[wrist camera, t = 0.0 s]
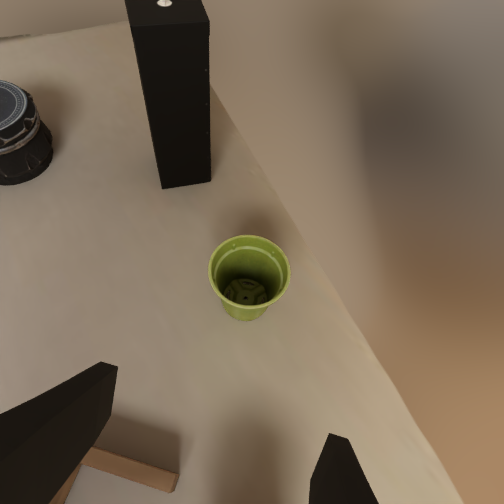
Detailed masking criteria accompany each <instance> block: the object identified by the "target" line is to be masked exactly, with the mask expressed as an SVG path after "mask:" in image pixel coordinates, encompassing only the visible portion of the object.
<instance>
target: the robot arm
mask: <svg viewBox="0 0 504 504" xmlns="http://www.w3.org/2000/svg"><path fill="white" fill-rule="evenodd" d="M117 371H118V367H117V366H114V365H111V364H108V363H104V362H99V363H97V364H95V365H93V366H92V367H90V368H88V369H86V370H84V371H83V372H81V373H79V374H77V375H76V376H74V377H72V378H70V379H69V380H67V381H65V382H63V383H61V384H59V385H58V386H56V387H54V388H52V389H50V390H48V391H46V392H44V393H43V394H41V395H39V396H37V397H35V398H33V399H31V400H29V401H27V402H25V403H23V404H21V405H18V406H16V407H14V408H12V409H10V410H8V411H6V412H4V413H1V414H0V504H49V503H50V502H51V500H52V499H53V498H54V496H55V495H56V494H57V492H58V491H59V490H60V488H61V487H62V486H63V484H64V483H65V482H66V480H67V479H68V478H69V476H70V475H71V474H72V472H73V471H74V470H75V469H76V467H77V466H78V465H79V463H80V462H81V460H82V459H83V458H84V456H85V455H86V454H87V452H88V451H89V450H90V448H91V447H92V446H93V444H94V443H95V441H96V439H97V438H98V436H99V434H100V433H101V431H102V429H103V428H104V426H105V424H106V422H107V421H108V419H109V417H110V415H111V410H112V404H113V397H114V391H115V384H116V377H117ZM309 504H379V503H378V501H377V499H376V497H375V495H374V493H373V491H372V489H371V487H370V485H369V483H368V481H367V479H366V477H365V475H364V472H363V470H362V468H361V466H360V464H359V462H358V459H357V457H356V455H355V453H354V451H353V448H352V446H351V444H350V442H349V440H348V439H347V438H344V437H340V436H337V435H334V434H331V433H329V435H328V437H327V440H326V442H325V445H324V447H323V450H322V452H321V455H320V457H319V460H318V462H317V465H316V467H315V470H314V472H313V475H312V477H311V480H310V492H309Z"/></svg>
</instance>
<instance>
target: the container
mask: <svg viewBox="0 0 504 504" xmlns="http://www.w3.org/2000/svg"><path fill="white" fill-rule="evenodd" d="M51 144H52V135H51V132H50V130H49V129H48V128H47V126H46V125H45V124H44V123H43V122H42V121H41V120H40V116H39V113H38V111H37V108H36V106H35V104H34V102H33V98H32V96H31V95H30V94H29V93H28V92H26V91H25V90H23V89H21V88H19V87H18V86H16V85H14V84H12V83H10V82H6V81H2V80H0V185H16V184H20V183H23V182H26V181H29V180H31V179H33V178H35V177H37V176H39V175H40V174H41V173H42V172H44V171H45V170H46V169H47V167H48V166H49V164H50V162H51V160H52V156H53V150H52V147H51Z"/></svg>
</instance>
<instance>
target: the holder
mask: <svg viewBox="0 0 504 504" xmlns="http://www.w3.org/2000/svg"><path fill="white" fill-rule="evenodd" d="M81 464H84V465H87V466H90V467H93V468H96V469H99V470H102V471H105V472H108V473H111V474H114V475H117V476H120V477H123V478H126V479H129V480H132V481H135V482H138V483H141V484H144V485H147V486H150V487H153V488H156V489H159V490H162V491H165V492H168V493H171V492H173V491H174V490H175V486H176V483H177V480H178V477H179V474H176V473H173V472H170V471H167V470H164V469H161V468H158V467H155V466H152V465H149V464H146V463H143V462H140V461H137V460H134V459H131V458H128V457H125V456H122V455H119V454H116V453H112V452H109V451H106V450H103V449H100V448H97V447H94V446H92V447H91V448H90V450H89V451H88V452H87V454H86V455H85V456H84V458H83V459H82V460H81V462H80V463H79V465H78V466H77V467H76V469H75V470H74V471H73V472H72V474H71V475H70V476H69V478H68V479H67V480H66V482H65V483H64V484H63V486H62V487H61V488H60V490H59V491H58V492H57V494H56V495H55V496H54V498H53V499H52V500H51V502H50V503H49V504H64V502H65V500H66V498H67V495H68V493H69V491H70V489H71V486H72V484H73V482H74V480H75V478H76V475H77V473H78V471H79V469H80V467H81Z"/></svg>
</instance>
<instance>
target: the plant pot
mask: <svg viewBox="0 0 504 504" xmlns="http://www.w3.org/2000/svg"><path fill="white" fill-rule="evenodd" d="M208 276H209V280H210V283H211V286H212V288H213V290H214V291H215V293H216V294H217V295H218V296H219V297H220V298H221V300H222V304H223V306H224V308H225V310H226V311H227V313H228V314H229V315H230V316H232V317H233V318H235V319H238V320H242V321H250V320H254V319H256V318H257V317H259V316H260V315H262V314H263V313H264V311H265V310H266V309H267V307H268V306H269V305H271V304H273V303H274V302H276V301H277V300H278V299H279V298H280V297H281V296H282V295H283V294H284V292H285V291H286V289H287V287H288V285H289V282H290V276H291V271H290V265H289V262H288V259H287V257H286V255H285V254H284V252H283V251H282V250H281V249H280V248H279V247H278V246H277V245H276V244H274V243H273V242H271V241H270V240H268V239H266V238H263V237H260V236H255V235H240V236H235V237H233V238H230V239H228V240H226V241H224V242H223V243H221V244H220V245H219V246H218V247H217V248H216V249H215V250H214V252H213V254H212V256H211V258H210V261H209V265H208ZM244 282H250V283H253V285H248V284H244ZM228 291H230V295H229V300H228V299H227V298H226V296H227V293H228ZM244 297H247V300H245V299H244ZM262 298H263V299H264V304H261V303H262Z"/></svg>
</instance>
